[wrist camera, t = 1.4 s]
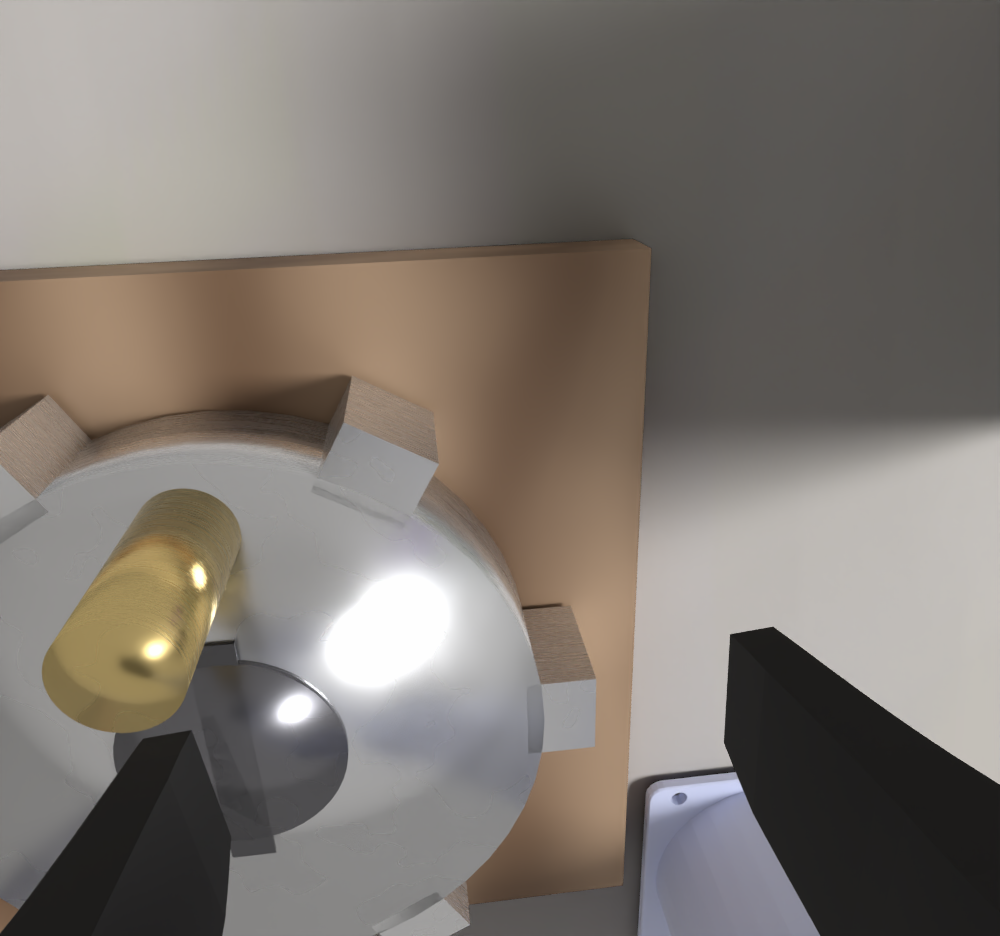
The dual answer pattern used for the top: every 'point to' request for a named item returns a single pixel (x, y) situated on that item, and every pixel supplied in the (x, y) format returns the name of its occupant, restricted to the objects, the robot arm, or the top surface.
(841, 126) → the top surface
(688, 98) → the top surface
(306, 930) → the gear wheel
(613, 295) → the base plate
